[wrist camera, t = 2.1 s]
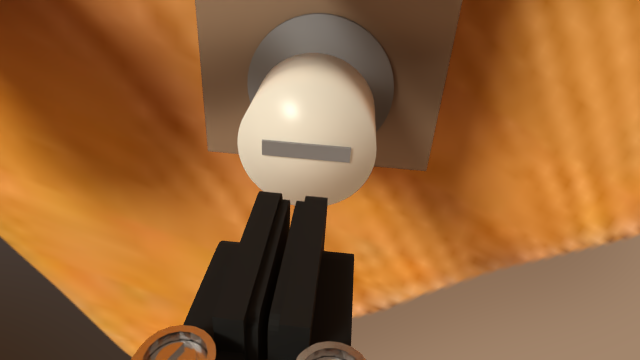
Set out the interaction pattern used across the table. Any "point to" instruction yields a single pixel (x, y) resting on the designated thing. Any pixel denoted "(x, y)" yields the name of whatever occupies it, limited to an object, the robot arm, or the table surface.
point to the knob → (310, 130)
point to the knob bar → (342, 42)
